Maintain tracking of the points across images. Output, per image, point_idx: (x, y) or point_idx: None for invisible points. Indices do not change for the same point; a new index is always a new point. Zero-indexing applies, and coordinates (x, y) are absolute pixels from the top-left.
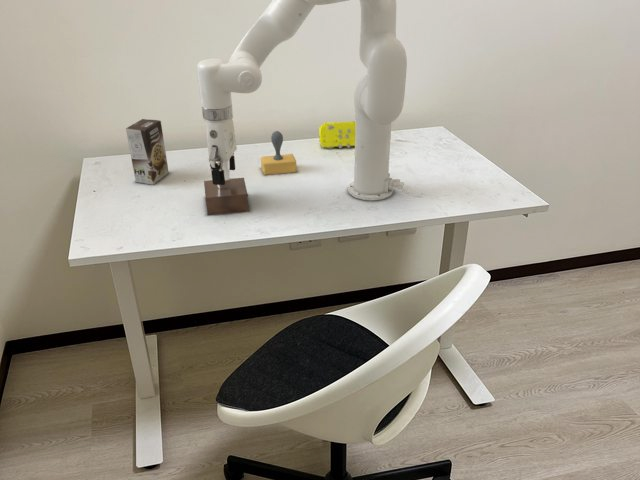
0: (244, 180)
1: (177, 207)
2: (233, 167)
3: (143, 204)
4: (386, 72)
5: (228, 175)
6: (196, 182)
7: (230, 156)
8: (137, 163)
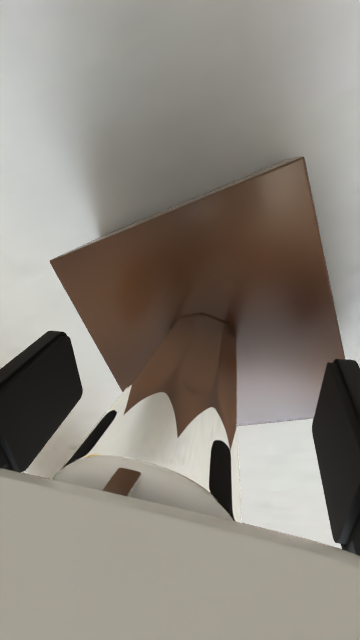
0: (83, 247)
1: (261, 452)
2: (57, 347)
3: (247, 523)
4: None
5: (196, 359)
6: (70, 420)
7: (207, 547)
8: None
